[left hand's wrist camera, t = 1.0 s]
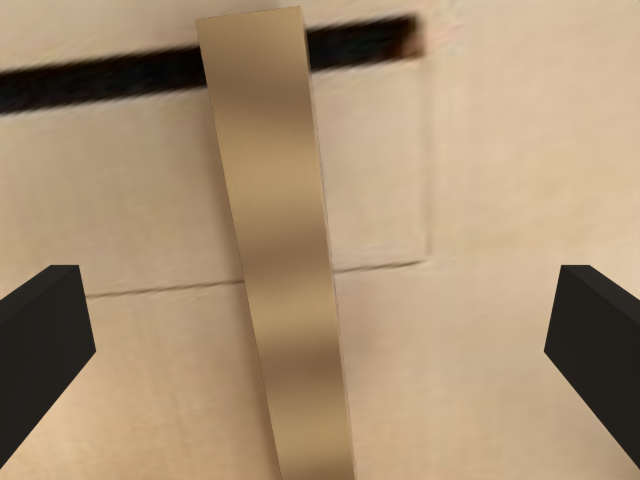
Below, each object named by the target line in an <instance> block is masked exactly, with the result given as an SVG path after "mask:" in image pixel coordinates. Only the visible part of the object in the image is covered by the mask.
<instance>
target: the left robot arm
mask: <svg viewBox="0 0 640 480" xmlns="http://www.w3.org/2000/svg"><path fill="white" fill-rule="evenodd" d="M95 352H96V348H95V343H94V338H93V333H92V328H91V323H90V318H89V313H88V308H87V303H86V298H85V294H84V289H83V284H82V279H81V274H80V269H79V265H50V266H48V267H47V268H46V269H44V270H43V271H41V272H40V273H38V274H37V275H36V276H34V277H33V278H31V279H30V280H28V281H27V282H26V283H24V284H23V285H21V286H20V287H19V288H17V289H16V290H14V291H13V292H11V293H10V294H9V295H7V296H6V297H4V298H3V299H1V300H0V469H1V468H2V467H3V465H4V464H5V463H6V462H7V461H8V459H9V458H10V457H11V456H12V454H13V453H14V452H15V451H16V450H17V448H18V447H19V446H20V445H21V443H22V442H23V441H24V440H25V438H26V437H27V436H28V435H29V434H30V432H31V431H32V430H33V429H34V427H35V426H36V425H37V424H38V422H39V421H40V420H41V419H42V418H43V416H44V415H45V414H46V413H47V411H48V410H49V409H50V408H51V406H52V405H53V404H54V403H55V402H56V400H57V399H58V398H59V397H60V395H61V394H62V393H63V392H64V390H65V389H66V388H67V387H68V386H69V384H70V383H71V382H72V381H73V379H74V378H75V377H76V376H77V375H78V373H79V372H80V371H81V370H82V368H83V367H84V366H85V365H86V363H87V362H88V361H89V360H90V359H91V357H92V356H93V355H94V354H95ZM544 352H545V354H546V355H547V356H548V357H549V359H550V360H551V361H552V362H553V363H554V365H555V366H556V367H557V368H558V370H559V371H560V372H561V373H562V375H563V376H564V377H565V378H566V379H567V381H568V382H569V383H570V384H571V386H572V387H573V388H574V389H575V390H576V392H577V393H578V394H579V395H580V397H581V398H582V399H583V400H584V402H585V403H586V404H587V405H588V406H589V408H590V409H591V410H592V411H593V413H594V414H595V415H596V416H597V418H598V419H599V420H600V421H601V422H602V424H603V425H604V426H605V427H606V429H607V430H608V431H609V432H610V434H611V435H612V436H613V437H614V438H615V440H616V441H617V442H618V443H619V445H620V446H621V447H622V448H623V450H624V451H625V452H626V453H627V454H628V456H629V457H630V458H631V459H632V461H633V462H634V463H635V464H636V465H637V467H638V468H639V469H640V300H639V299H637V298H636V297H634V296H633V295H631V294H630V293H629V292H627V291H626V290H624V289H623V288H621V287H620V286H619V285H617V284H616V283H614V282H613V281H611V280H610V279H609V278H607V277H606V276H604V275H603V274H602V273H600V272H599V271H597V270H596V269H594V268H593V267H592V266H590V265H561V269H560V274H559V279H558V284H557V289H556V294H555V298H554V303H553V308H552V313H551V318H550V323H549V328H548V333H547V338H546V343H545V348H544Z"/></svg>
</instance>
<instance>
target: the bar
mask: <svg viewBox="0 0 640 480" xmlns="http://www.w3.org/2000/svg"><path fill="white" fill-rule="evenodd" d="M195 23H196V28H197V33H198V38H199V44H200V49H201V54H202V60H203V65H204V70H205V75H206V81H207V86H208V91H209V97H210V102H211V107H212V112H213V118H214V123H215V128H216V134H217V139H218V144H219V149H220V155H221V160H222V165H223V171H224V176H225V181H226V186H227V192H228V197H229V202H230V208H231V213H232V218H233V223H234V229H235V234H236V239H237V245H238V250H239V255H240V260H241V266H242V271H243V276H244V282H245V287H246V292H247V297H248V303H249V308H250V313H251V319H252V324H253V329H254V334H255V340H256V345H257V350H258V356H259V361H260V366H261V372H262V377H263V382H264V387H265V393H266V398H267V403H268V409H269V414H270V419H271V424H272V430H273V435H274V440H275V446H276V451H277V456H278V461H279V467H280V472H281V477H282V480H357V475H356V467H355V458H354V449H353V440H352V431H351V422H350V413H349V405H348V396H347V387H346V378H345V369H344V360H343V351H342V343H341V334H340V325H339V316H338V307H337V298H336V289H335V281H334V272H333V263H332V254H331V245H330V236H329V227H328V219H327V210H326V201H325V192H324V183H323V174H322V165H321V157H320V148H319V139H318V130H317V121H316V112H315V103H314V95H313V86H312V77H311V68H310V59H309V50H308V41H307V32H306V25H305V21H304V18H303V14H302V10H301V7H300V6H296V7H289V8H281V9H273V10H265V11H257V12H249V13H241V14H234V15H226V16H218V17H210V18H202V19H196V20H195Z"/></svg>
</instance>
